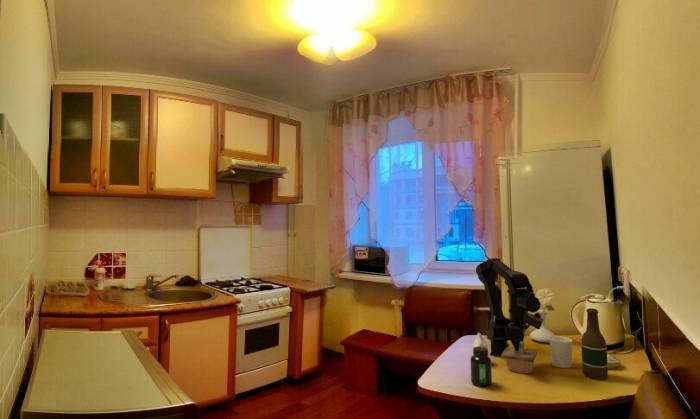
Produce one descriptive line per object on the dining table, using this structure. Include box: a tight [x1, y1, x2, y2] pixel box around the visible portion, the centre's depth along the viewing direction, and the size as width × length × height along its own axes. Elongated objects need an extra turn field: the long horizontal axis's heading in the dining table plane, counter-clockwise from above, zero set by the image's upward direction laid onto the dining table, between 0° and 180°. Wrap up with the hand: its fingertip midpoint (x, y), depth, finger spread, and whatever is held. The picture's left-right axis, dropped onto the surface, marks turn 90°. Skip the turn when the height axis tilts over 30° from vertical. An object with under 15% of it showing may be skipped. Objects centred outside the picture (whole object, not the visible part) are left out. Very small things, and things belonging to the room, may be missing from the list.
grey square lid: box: [500, 341, 538, 363], centre depth 144 cm, size 11×11×5 cm
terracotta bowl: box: [505, 358, 535, 374], centre depth 144 cm, size 9×9×5 cm
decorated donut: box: [607, 353, 622, 370], centre depth 146 cm, size 10×11×4 cm
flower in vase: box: [529, 287, 556, 344], centre depth 175 cm, size 13×11×25 cm
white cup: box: [548, 335, 573, 369], centre depth 146 cm, size 8×8×10 cm
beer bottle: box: [580, 307, 609, 381], centre depth 136 cm, size 8×8×24 cm
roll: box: [472, 332, 489, 350], centre depth 150 cm, size 6×12×6 cm
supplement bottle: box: [470, 347, 493, 388], centre depth 131 cm, size 7×7×12 cm
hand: (519, 347), depth 144 cm, fingers open, 9 cm apart
